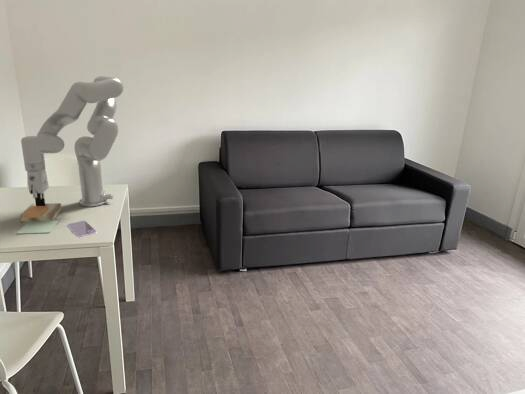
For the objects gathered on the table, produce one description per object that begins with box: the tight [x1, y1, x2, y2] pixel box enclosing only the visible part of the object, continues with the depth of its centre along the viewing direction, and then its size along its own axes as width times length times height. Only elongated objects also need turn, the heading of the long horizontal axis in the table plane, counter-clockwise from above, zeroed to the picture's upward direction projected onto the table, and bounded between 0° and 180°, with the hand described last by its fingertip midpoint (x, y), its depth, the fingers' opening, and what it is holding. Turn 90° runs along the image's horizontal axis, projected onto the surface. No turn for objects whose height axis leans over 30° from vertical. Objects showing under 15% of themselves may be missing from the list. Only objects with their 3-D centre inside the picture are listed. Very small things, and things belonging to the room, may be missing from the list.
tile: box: [24, 206, 48, 218], centre depth 170 cm, size 6×9×2 cm, turn 8°
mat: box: [16, 219, 60, 235], centre depth 164 cm, size 12×12×1 cm
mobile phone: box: [67, 220, 98, 238], centre depth 165 cm, size 8×1×15 cm
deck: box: [19, 202, 62, 223], centre depth 176 cm, size 12×14×3 cm
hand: (40, 207), depth 176 cm, fingers closed
